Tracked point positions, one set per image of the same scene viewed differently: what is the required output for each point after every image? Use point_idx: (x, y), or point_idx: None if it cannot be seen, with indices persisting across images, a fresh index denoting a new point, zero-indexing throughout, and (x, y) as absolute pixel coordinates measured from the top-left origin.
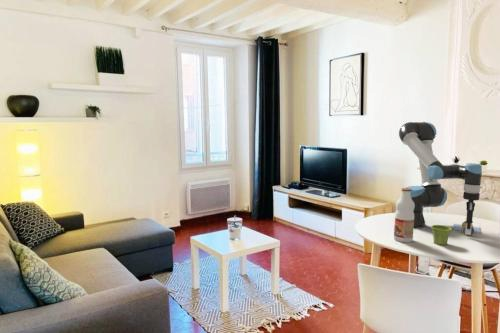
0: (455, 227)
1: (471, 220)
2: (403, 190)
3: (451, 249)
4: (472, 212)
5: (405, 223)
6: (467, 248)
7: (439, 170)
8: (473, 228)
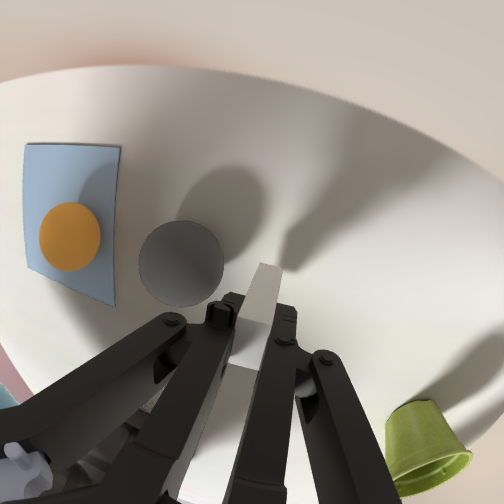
0: (74, 280)
1: (348, 387)
2: None
3: (480, 383)
4: (394, 496)
5: None
6: (481, 324)
7: None
8: (178, 236)
